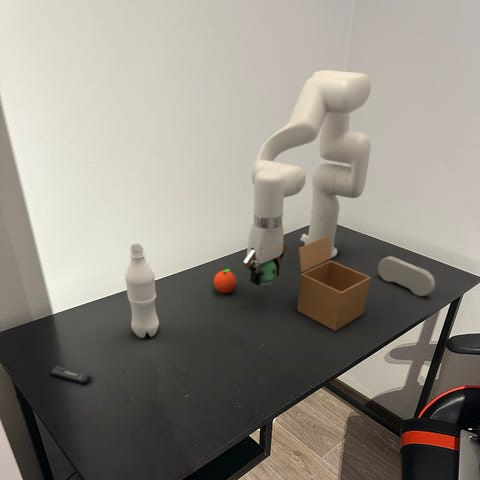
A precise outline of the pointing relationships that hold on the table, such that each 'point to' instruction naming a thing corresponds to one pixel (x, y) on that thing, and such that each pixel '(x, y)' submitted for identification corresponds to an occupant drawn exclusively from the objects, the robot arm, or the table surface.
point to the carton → (333, 294)
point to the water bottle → (141, 293)
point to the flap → (314, 253)
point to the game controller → (406, 275)
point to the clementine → (225, 281)
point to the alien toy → (267, 273)
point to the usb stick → (70, 374)
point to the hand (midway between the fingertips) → (264, 278)
